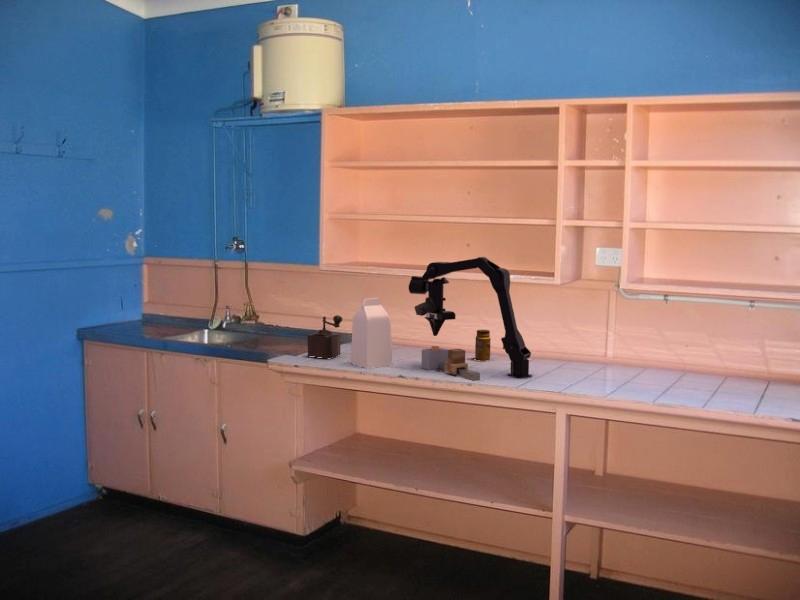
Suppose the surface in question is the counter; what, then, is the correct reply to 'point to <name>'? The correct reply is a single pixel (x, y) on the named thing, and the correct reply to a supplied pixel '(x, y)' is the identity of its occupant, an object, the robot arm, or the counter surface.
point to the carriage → (455, 361)
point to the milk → (371, 335)
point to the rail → (462, 372)
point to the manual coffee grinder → (325, 341)
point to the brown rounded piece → (434, 348)
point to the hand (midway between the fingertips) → (435, 335)
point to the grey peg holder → (434, 358)
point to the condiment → (482, 346)
